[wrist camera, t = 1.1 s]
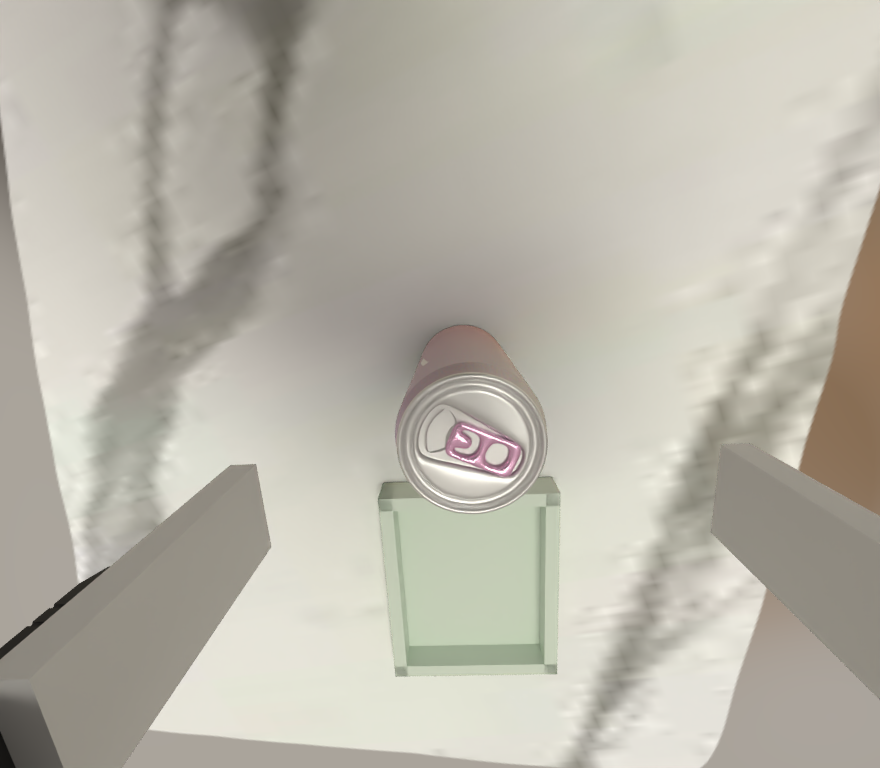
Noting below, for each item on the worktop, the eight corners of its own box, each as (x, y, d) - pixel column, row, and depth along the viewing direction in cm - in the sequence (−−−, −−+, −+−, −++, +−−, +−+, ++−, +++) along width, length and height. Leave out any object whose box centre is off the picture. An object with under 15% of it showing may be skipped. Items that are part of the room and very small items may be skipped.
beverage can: (484, 417, 31) (512, 540, 16) (409, 387, 30) (368, 487, 16) (517, 342, 29) (581, 405, 15) (439, 311, 29) (425, 342, 14)
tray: (383, 482, 32) (377, 499, 30) (552, 477, 32) (560, 493, 29) (399, 649, 36) (395, 676, 34) (549, 647, 36) (556, 674, 33)
